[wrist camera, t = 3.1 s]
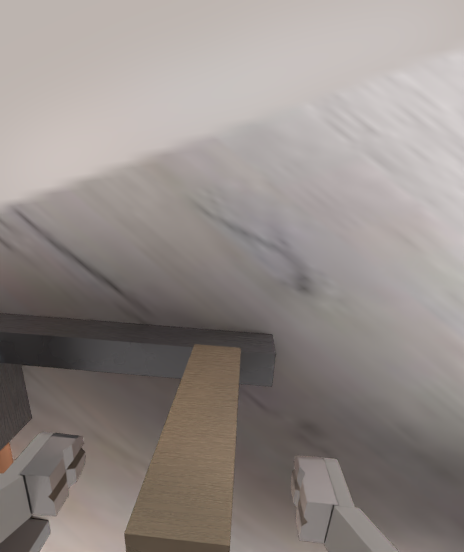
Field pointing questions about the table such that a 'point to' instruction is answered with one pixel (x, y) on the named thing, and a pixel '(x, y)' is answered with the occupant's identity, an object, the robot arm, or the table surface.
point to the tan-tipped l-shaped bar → (180, 422)
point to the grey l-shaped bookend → (27, 537)
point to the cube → (5, 458)
